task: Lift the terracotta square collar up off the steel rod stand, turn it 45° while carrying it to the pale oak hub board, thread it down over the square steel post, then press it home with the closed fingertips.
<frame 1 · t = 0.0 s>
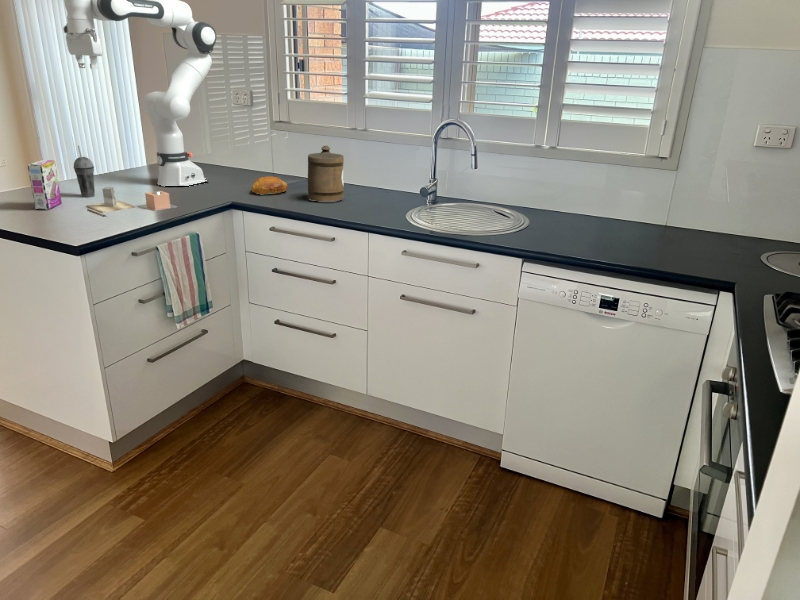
hand: (87, 68, 226), 48 cm above the worktop, tool pointing down, fingers open, 8 cm apart
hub: (111, 211, 218), on the worktop
candy bar box: (49, 207, 221), on the worktop
croissant: (269, 193, 258), on the worktop
collar: (158, 206, 221), point 1 cm above the worktop, touching rod stand
beverage cup: (88, 196, 239), on the worktop
rod stand: (158, 210, 222), on the worktop
wooden container: (325, 199, 250), on the worktop
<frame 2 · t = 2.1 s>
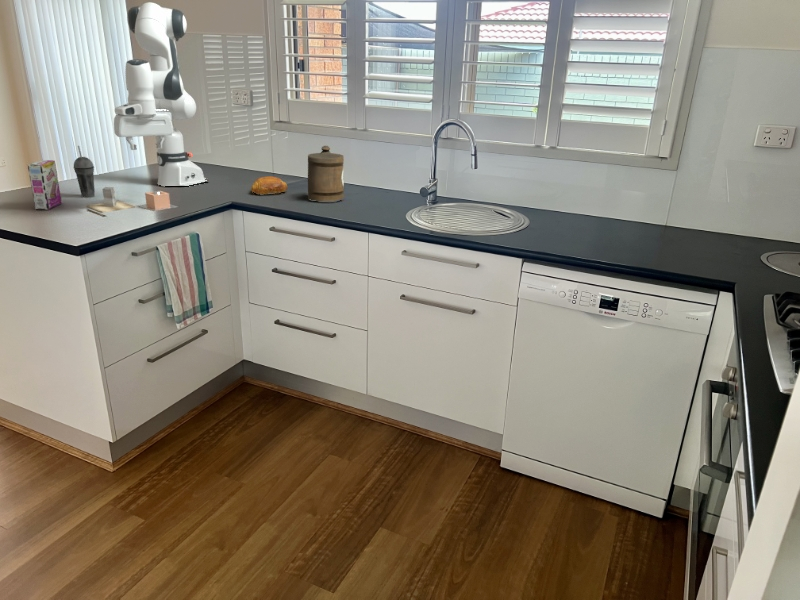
hand: (146, 149, 215), 22 cm above the worktop, tool pointing down, fingers open, 8 cm apart
nothing on the worktop moved.
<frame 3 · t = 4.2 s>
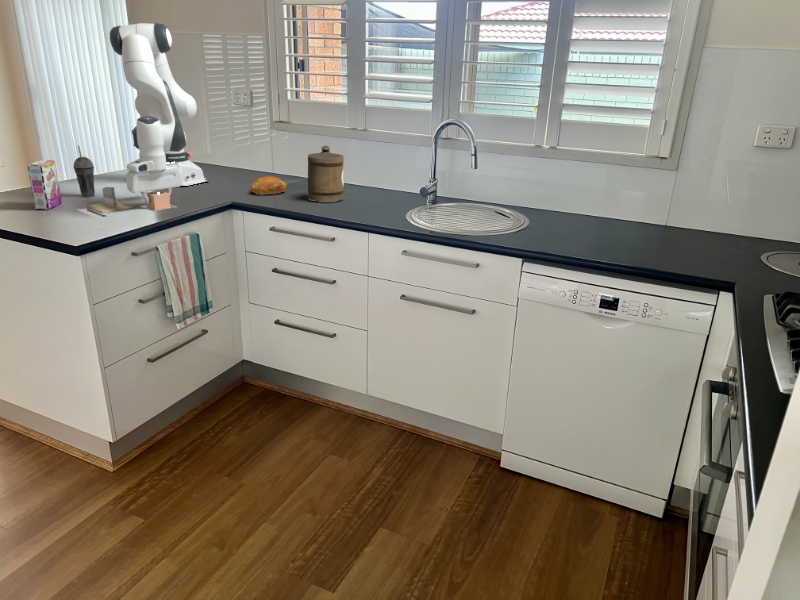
hand: (157, 201, 221), 3 cm above the worktop, tool pointing down, fingers closed on collar, 6 cm apart
collar: (158, 206, 221), point 1 cm above the worktop, touching gripper, rod stand
everything else where it was.
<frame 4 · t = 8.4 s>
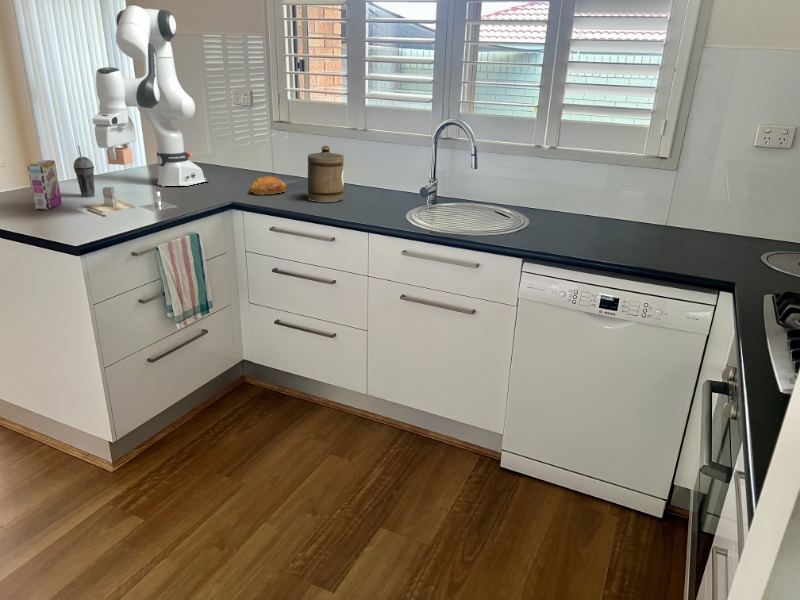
hand: (120, 157, 212), 19 cm above the worktop, tool pointing down, fingers closed on collar, 6 cm apart
collar: (120, 163, 213), point 17 cm above the worktop, touching gripper
everything else where it was.
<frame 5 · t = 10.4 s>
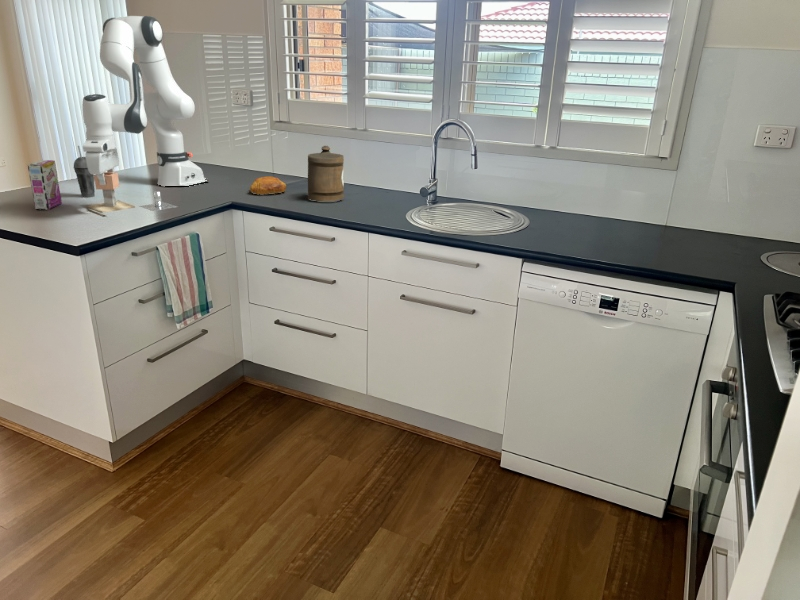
hand: (107, 182, 214), 10 cm above the worktop, tool pointing down, fingers closed on collar, 6 cm apart
collar: (107, 187, 215), point 9 cm above the worktop, touching gripper
everything else where it was.
when the fingers open (4 cm above the worktop, at t = 12.2 s): collar stays where it is, resting on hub.
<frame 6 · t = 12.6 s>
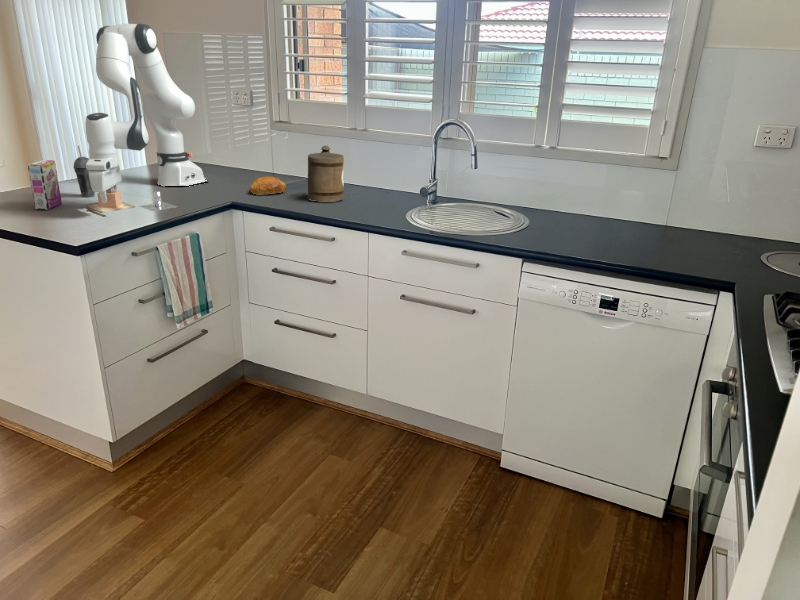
hand: (109, 199, 217), 4 cm above the worktop, tool pointing down, fingers open, 8 cm apart
collar: (110, 205, 218), point 2 cm above the worktop, touching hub
everything else where it was.
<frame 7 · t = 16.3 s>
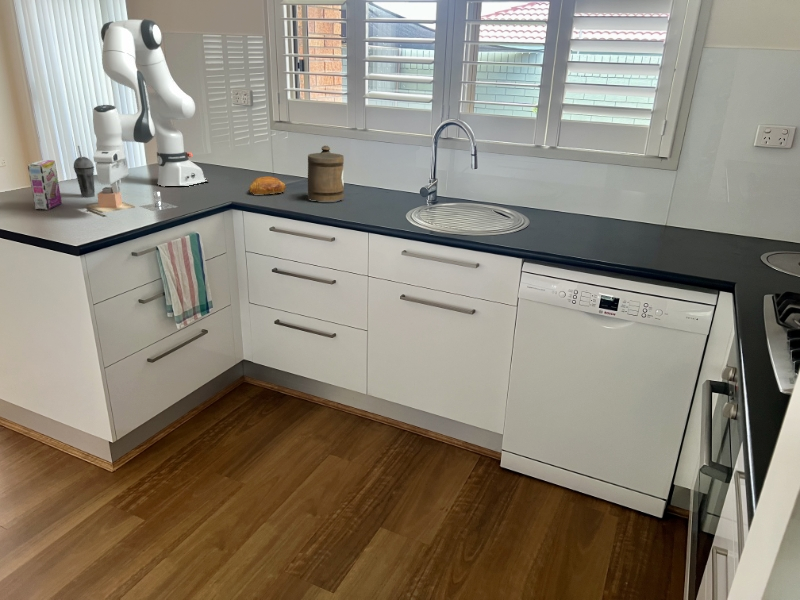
hand: (116, 192, 216), 7 cm above the worktop, tool pointing down, fingers closed, pressing on collar
collar: (110, 205, 218), point 2 cm above the worktop, touching gripper, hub
everything else where it was.
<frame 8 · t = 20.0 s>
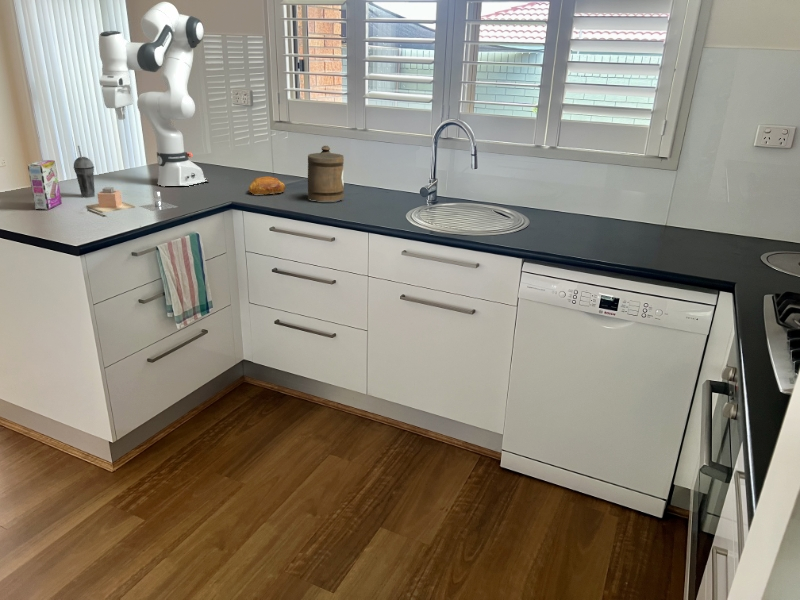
hand: (121, 119, 221), 31 cm above the worktop, tool pointing down, fingers closed
collar: (110, 205, 218), point 2 cm above the worktop, touching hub
at the end: collar 0.1 cm off-centre on the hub, point 2.0 cm above the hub's base; collar tilted 0°; the gripper is holding nothing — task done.
